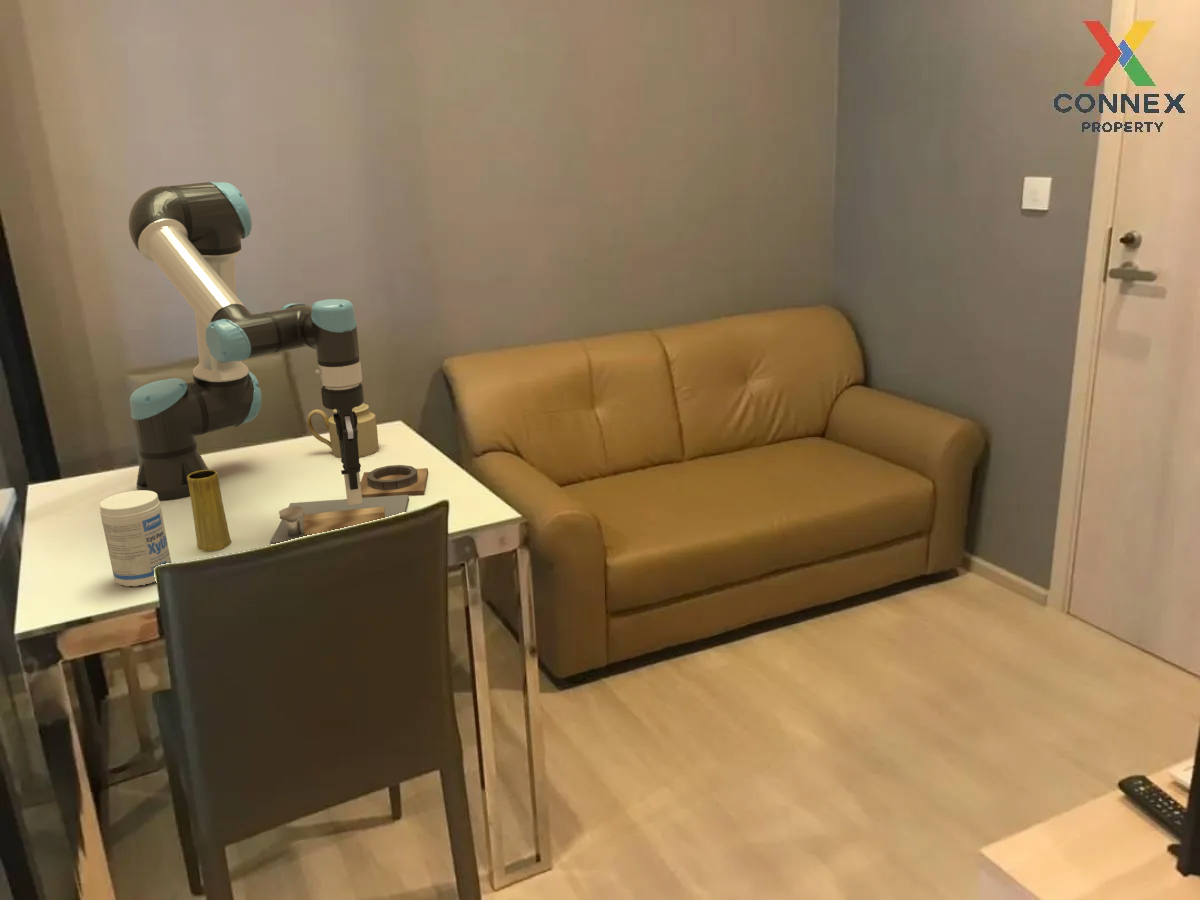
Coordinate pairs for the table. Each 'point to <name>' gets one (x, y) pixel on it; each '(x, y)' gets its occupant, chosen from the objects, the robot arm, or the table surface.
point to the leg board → (389, 503)
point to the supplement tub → (134, 536)
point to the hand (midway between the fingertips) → (354, 502)
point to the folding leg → (331, 518)
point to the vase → (208, 511)
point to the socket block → (394, 481)
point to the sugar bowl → (365, 429)
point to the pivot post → (293, 527)
